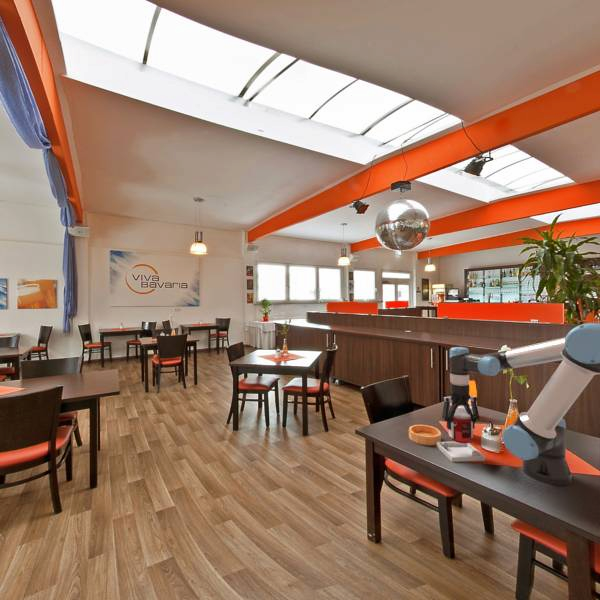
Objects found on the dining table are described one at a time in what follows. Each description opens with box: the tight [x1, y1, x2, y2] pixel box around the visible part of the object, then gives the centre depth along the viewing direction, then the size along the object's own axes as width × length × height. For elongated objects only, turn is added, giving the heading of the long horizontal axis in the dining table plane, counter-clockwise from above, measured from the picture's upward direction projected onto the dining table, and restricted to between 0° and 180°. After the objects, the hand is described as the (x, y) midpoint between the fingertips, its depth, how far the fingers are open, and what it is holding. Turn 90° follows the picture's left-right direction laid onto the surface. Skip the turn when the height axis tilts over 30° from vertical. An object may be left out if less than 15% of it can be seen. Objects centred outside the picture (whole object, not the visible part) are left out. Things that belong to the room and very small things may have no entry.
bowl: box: [408, 424, 442, 446], centre depth 158 cm, size 14×14×4 cm
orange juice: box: [468, 380, 478, 404], centre depth 187 cm, size 8×9×20 cm
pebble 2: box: [472, 450, 481, 456], centre depth 139 cm, size 3×3×3 cm
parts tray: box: [435, 441, 486, 463], centre depth 144 cm, size 14×14×2 cm
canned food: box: [451, 412, 472, 444], centre depth 143 cm, size 8×8×11 cm
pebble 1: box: [441, 441, 448, 449], centre depth 148 cm, size 3×3×3 cm
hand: (460, 436), depth 143 cm, fingers closed on canned food, 8 cm apart
